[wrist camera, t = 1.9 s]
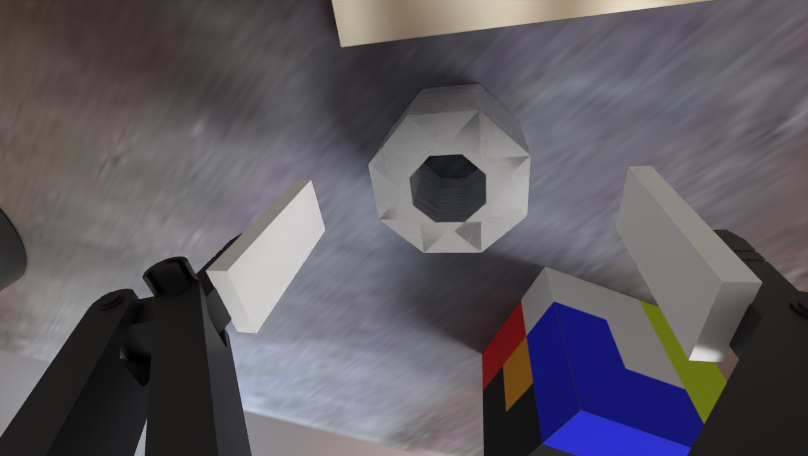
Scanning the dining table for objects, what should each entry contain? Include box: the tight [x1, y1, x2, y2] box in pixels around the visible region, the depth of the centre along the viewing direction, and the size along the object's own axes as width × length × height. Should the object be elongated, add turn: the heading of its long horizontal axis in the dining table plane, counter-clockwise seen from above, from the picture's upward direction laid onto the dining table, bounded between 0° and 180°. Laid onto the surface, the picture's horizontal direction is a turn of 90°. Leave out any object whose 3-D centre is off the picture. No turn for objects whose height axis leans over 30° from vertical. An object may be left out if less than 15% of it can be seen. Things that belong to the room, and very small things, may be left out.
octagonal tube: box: [368, 83, 531, 253], centre depth 19 cm, size 7×7×5 cm
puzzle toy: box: [482, 267, 727, 456], centre depth 23 cm, size 10×10×10 cm
